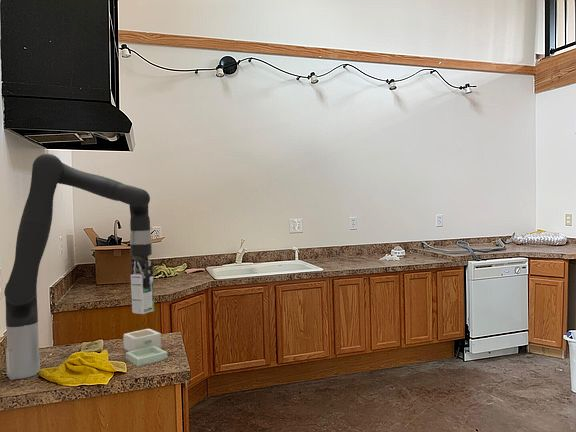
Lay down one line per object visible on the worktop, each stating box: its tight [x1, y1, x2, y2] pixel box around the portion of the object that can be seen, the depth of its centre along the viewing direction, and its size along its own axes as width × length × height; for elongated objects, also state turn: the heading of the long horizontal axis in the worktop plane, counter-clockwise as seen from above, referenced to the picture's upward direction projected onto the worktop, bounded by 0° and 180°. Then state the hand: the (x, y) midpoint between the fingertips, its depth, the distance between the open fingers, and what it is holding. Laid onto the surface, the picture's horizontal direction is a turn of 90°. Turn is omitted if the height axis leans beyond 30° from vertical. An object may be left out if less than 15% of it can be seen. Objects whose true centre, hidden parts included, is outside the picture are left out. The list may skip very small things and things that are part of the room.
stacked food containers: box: [122, 328, 162, 352], centre depth 175 cm, size 11×11×6 cm
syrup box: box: [130, 273, 155, 315], centre depth 167 cm, size 6×6×14 cm
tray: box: [125, 346, 169, 368], centre depth 163 cm, size 11×11×2 cm
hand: (142, 287), depth 167 cm, fingers closed on syrup box, 6 cm apart
